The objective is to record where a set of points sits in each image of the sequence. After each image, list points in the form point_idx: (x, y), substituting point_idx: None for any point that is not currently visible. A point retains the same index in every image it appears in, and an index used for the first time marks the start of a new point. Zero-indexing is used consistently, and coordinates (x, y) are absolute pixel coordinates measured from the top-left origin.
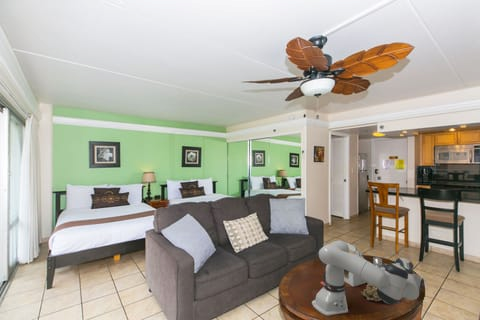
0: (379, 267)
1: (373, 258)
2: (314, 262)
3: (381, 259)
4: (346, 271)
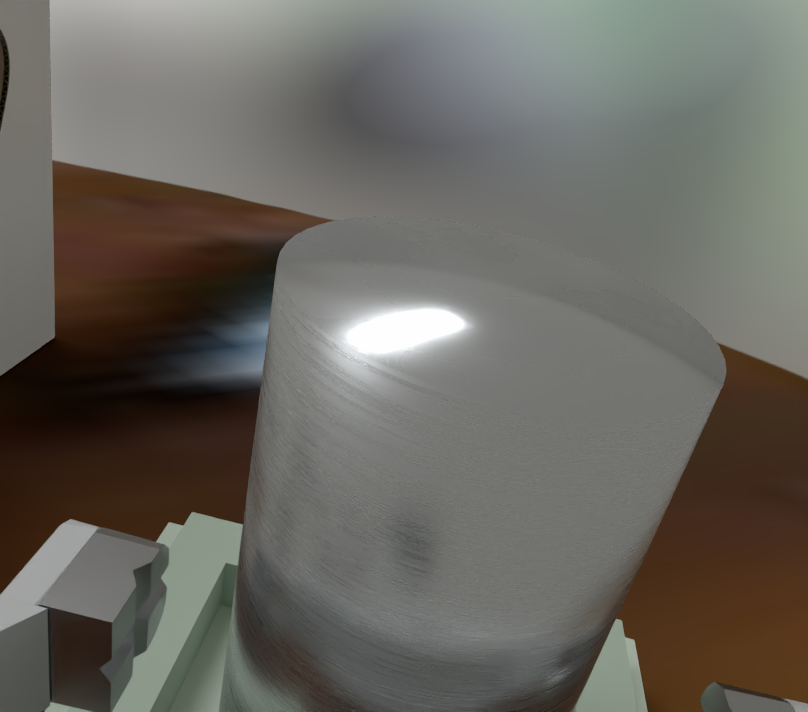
0: (280, 695)
1: (354, 225)
2: (70, 175)
3: (609, 396)
4: (1, 358)
